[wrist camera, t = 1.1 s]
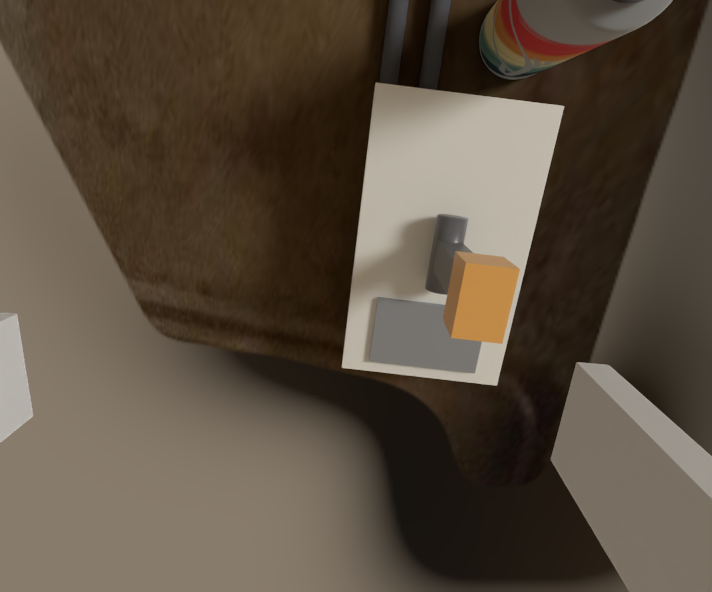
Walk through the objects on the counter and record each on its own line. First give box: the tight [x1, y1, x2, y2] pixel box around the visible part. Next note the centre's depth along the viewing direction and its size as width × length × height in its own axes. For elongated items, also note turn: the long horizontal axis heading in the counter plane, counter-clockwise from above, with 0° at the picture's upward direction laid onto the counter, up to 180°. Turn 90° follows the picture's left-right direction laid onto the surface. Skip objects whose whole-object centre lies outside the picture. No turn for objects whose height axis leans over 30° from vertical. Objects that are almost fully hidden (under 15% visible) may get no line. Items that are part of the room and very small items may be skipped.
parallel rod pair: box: [379, 0, 451, 90], centre depth 33 cm, size 9×4×1 cm, turn 173°
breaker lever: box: [425, 214, 520, 344], centre depth 26 cm, size 5×2×11 cm, turn 173°
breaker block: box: [342, 83, 564, 386], centre depth 35 cm, size 20×12×7 cm, turn 173°
